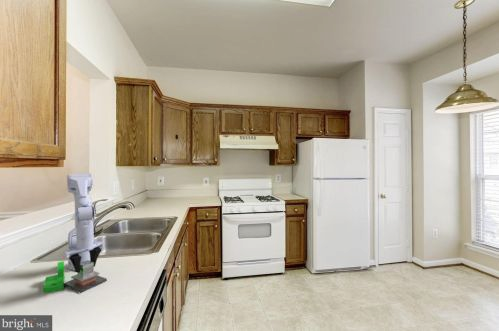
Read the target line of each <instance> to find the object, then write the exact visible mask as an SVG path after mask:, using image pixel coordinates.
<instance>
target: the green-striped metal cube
mask: <svg viewBox="0 0 499 331" xmlns="http://www.w3.org/2000/svg"><path fill="white" fill-rule="evenodd" d="M94 271H95V267H94V262H92V261H89V260H87V261H84V262H81V263H80V272H79V273H77V274H78V276H79V277H82V278H85V277H87V276H90V275H92V274H94Z"/></svg>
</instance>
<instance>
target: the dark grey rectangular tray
mask: <svg viewBox="0 0 499 331" xmlns="http://www.w3.org/2000/svg"><path fill="white" fill-rule="evenodd" d="M70 278H71V279H70V280H67V281H66V282H65V281H64V287H66V288H68V289H70V290H72V291H76V292H78V293H80V294H82V293H84V292H86V291H88V290H91V289H92V288H95V287H97V286H99V285H102V284H104V283H106V282H107V281H108V280H107V278H106V277H103V276H100V272H97V271H95V270H94V274H92V275H90V276H87V277H85V278H82V277H79V276H78V273H77V274H74V275H72V276H71V277H70Z"/></svg>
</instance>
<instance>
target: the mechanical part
mask: <svg viewBox="0 0 499 331" xmlns="http://www.w3.org/2000/svg"><path fill="white" fill-rule="evenodd" d="M64 283H65V261H59V262H57V274H54V275H50V276H46V277H45V280H44V284H43V292H44V293H46V294H47V293H50V294H51V293H54V292H58V291H63V290H64V287H65V286H64Z"/></svg>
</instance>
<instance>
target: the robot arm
mask: <svg viewBox="0 0 499 331" xmlns="http://www.w3.org/2000/svg"><path fill="white" fill-rule="evenodd" d="M66 182H67V183H66V185H67V192H68V193H70V194H72V195H73V199H74V225H75V227H74V228H73V229H72V230H70V231H69V232H68V237H67V249H68V250H67V251H64V252H63V258H64V259H68V260H67V265H65V268H67V269H69V270H72V271H75V273H77V274H78V273H79V272H80V263H81V262H84V261H87V260H89V261H92V262H94V268H95V267H96V264H97V261H98V258H99V255H100V254H101V252H102V248H103V247H105V241H103V240H101V241H96V242H95V235H94V234H95V233H94V220H95V217H96V209H95V206H94V204H93V203H92V197H91V195H90V194H88V193H89V192H90V191H92V189H93V184H94V176H93V174H92V173H82V174H81V173H80V174H79V173H75V174H69V173H68V175H66ZM101 247H102V248H101Z"/></svg>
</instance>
